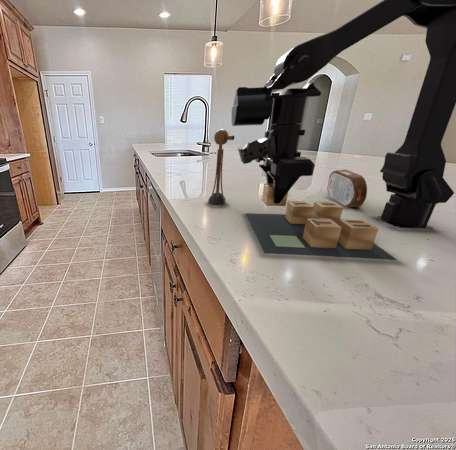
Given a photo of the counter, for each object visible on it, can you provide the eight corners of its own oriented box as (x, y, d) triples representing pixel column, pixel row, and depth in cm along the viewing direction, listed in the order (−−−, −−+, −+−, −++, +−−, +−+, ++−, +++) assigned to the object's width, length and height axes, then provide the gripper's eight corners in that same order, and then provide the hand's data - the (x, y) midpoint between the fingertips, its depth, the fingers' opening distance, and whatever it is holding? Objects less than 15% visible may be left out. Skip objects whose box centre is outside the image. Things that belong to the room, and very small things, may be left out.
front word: (357, 239, 45) (364, 219, 44) (371, 250, 42) (379, 228, 40) (302, 237, 47) (306, 217, 45) (311, 247, 43) (316, 226, 42)
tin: (362, 212, 60) (373, 178, 56) (348, 211, 60) (357, 178, 57) (334, 195, 73) (341, 167, 70) (322, 195, 74) (329, 167, 70)
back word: (329, 218, 55) (333, 201, 54) (338, 225, 52) (343, 206, 50) (284, 217, 57) (287, 200, 55) (290, 223, 53) (293, 205, 52)
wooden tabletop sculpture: (231, 205, 68) (239, 128, 60) (221, 209, 65) (227, 129, 57) (214, 201, 72) (219, 128, 64) (204, 204, 69) (208, 129, 62)
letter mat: (334, 217, 57) (334, 215, 57) (396, 263, 39) (397, 259, 39) (245, 215, 60) (245, 212, 60) (264, 256, 42) (264, 252, 42)
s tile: (280, 200, 56) (283, 182, 54) (285, 206, 52) (289, 187, 50) (261, 200, 56) (264, 182, 55) (265, 205, 53) (268, 187, 51)
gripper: (236, 125, 58) (231, 189, 64) (252, 126, 41) (242, 214, 47) (287, 123, 56) (276, 189, 62) (325, 124, 39) (305, 215, 45)
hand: (273, 200), depth 54 cm, fingers closed on s tile, 4 cm apart
